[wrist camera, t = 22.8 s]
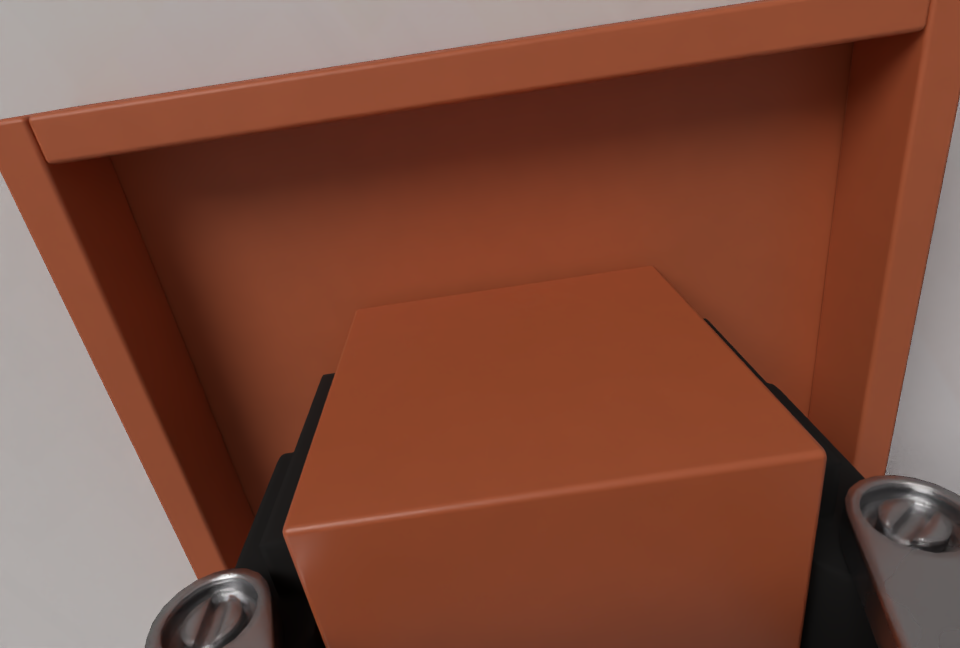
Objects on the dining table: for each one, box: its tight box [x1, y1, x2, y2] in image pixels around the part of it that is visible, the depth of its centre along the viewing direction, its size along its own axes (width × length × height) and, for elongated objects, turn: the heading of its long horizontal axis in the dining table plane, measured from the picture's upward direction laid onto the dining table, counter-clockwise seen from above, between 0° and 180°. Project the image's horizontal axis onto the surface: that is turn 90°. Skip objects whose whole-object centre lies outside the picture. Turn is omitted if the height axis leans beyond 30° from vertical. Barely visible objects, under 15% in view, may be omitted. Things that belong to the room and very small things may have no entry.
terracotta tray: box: [0, 0, 960, 579], centre depth 11 cm, size 12×12×2 cm
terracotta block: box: [283, 266, 827, 648], centre depth 9 cm, size 5×5×5 cm
